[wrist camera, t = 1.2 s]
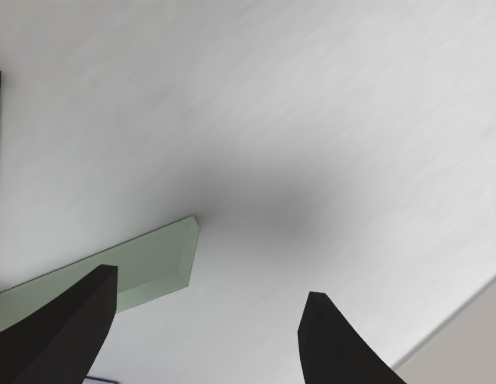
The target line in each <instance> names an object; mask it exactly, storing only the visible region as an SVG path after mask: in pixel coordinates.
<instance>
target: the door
mask: <svg viewBox="0 0 496 384" xmlns="http://www.w3.org/2000/svg"><path fill="white" fill-rule="evenodd" d="M199 231H200V227H199V225H198V223H197V221H196V219H195V218H194V216H190V217H188V218H185V219H183V220H180V221H178V222H175V223H173V224H170V225H168V226H165V227H163V228H160V229H158V230H156V231H153V232H151V233H148V234H146V235H143V236H141V237H138V238H136V239H133V240H131V241H128V242H126V243H123V244H121V245H119V246H116V247H114V248H111V249H109V250H106V251H104V252H101V253H99V254H96V255H94V256H91V257H89V258H86V259H84V260H82V261H79V262H77V263H74V264H72V265H69V266H67V267H64V268H62V269H59V270H57V271H54V272H52V273H49V274H47V275H45V276H42V277H40V278H37V279H35V280H32V281H30V282H27V283H25V284H22V285H20V286H17V287H15V288H12V289H10V290H8V291H5V292H3V293H0V332H1V331H3V330H5V329H7V328H8V327H10V326H12V325H14V324H16V323H17V322H19V321H21V320H22V319H24V318H26V317H27V316H29V315H30V314H32V313H33V312H35V311H36V310H38V309H39V308H41V307H43V306H44V305H46V304H47V303H49V302H50V301H52V300H53V299H54V298H56V297H57V296H59V295H60V294H61V293H63V292H64V291H65V290H67V289H68V288H70V287H71V286H72V285H74V284H75V283H76V282H78V281H79V280H80V279H82V278H83V277H84V276H85V275H87V274H88V273H89V272H91V271H92V270H93V269H95V268H96V267H97V266H99V265H100V264H105V265H113V266H118V284H117V310H116V313H119V312H121V311H124V310H127V309H129V308H132V307H135V306H137V305H140V304H143V303H145V302H148V301H150V300H153V299H156V298H158V297H161V296H164V295H166V294H169V293H172V292H174V291H177V290H180V289H182V288H185V287H187V286H188V284H189V279H190V274H191V270H192V265H193V260H194V255H195V250H196V246H197V241H198V236H199ZM116 313H115V314H116Z"/></svg>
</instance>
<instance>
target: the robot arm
mask: <svg viewBox="0 0 496 384" xmlns="http://www.w3.org/2000/svg"><path fill="white" fill-rule="evenodd" d="M117 284H118V266H113V265H105V264H100V265H99V266H97V267H96V268H95V269H93V270H92V271H91V272H89V273H88V274H87V275H85V276H84V277H83V278H82V279H80V280H79V281H78V282H76V283H75V284H74V285H72V286H71V287H70V288H68V289H67V290H65V291H64V292H63V293H61V294H60V295H59V296H57V297H56V298H54V299H53V300H52V301H50V302H49V303H47V304H46V305H44V306H43V307H41V308H39V309H38V310H36V311H35V312H33V313H32V314H30V315H29V316H27V317H26V318H24V319H22V320H21V321H19V322H17V323H16V324H14V325H12V326H10V327H8V328H7V329H5V330H3V331H1V332H0V384H114V383H108V382H103V381H97V380H92V379H86V376H87V374H88V372H89V370H90V368H91V366H92V364H93V362H94V360H95V358H96V356H97V355H98V353H99V351H100V349H101V347H102V345H103V343H104V341H105V339H106V337H107V335H108V332H109V329H110V327H111V324H112V321H113V319H114V316H115V313H116V310H117ZM298 344H299V354H300V361H301V366H302V370H303V375H304V380H305V384H406V383H405V382H404V381H403V380H402V379H401V378H400V377H399V376H398V375H397V374H396V373H395V372H394V371H392V370H391V369H390V368H389V367H388V366H387V365H386V364H385V363H384V362H383V361H382V360H381V359H380V358H379V357H378V356H377V354H376V353H375V352H374V351H373V350H372V349H371V348H370V347H369V346H368V345H367V344H366V342H365V341H364V340H363V339H362V338H361V337H360V336H359V334H358V333H357V332H356V331H355V330H354V328H353V327H352V326H351V325H350V324H349V322H348V321H347V320H346V319H345V317H344V316H343V315H342V314H341V312H340V311H339V310H338V309H337V307H336V306H335V305H334V304H333V302H332V301H331V300H330V298H329V297H328V296H327V295H326V294H325V293H319V292H311V291H310V292H309V295H308V299H307V302H306V305H305V309H304V312H303V315H302V319H301V322H300V325H299V329H298Z"/></svg>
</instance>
